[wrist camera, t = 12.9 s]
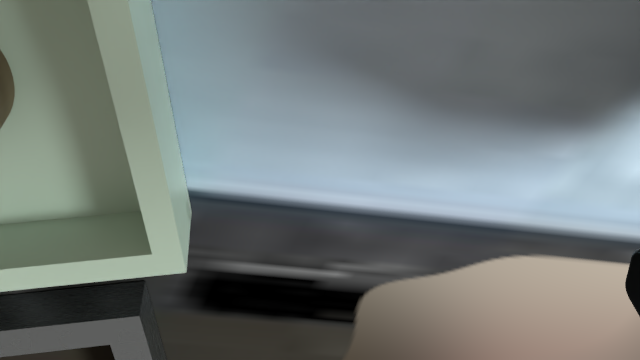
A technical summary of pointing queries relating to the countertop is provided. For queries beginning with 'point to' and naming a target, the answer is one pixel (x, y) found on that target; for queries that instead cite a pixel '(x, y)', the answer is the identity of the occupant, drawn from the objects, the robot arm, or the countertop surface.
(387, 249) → the countertop surface
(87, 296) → the steel collar
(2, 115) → the lock pin
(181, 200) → the tray
